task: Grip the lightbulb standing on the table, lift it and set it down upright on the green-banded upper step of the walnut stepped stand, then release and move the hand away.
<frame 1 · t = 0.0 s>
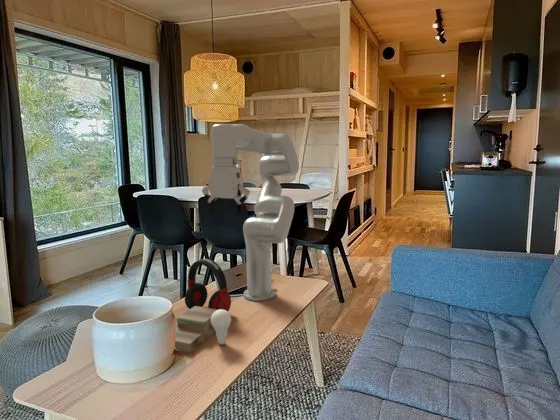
hand: (226, 215, 134), 37 cm above the table, tool pointing down, fingers open, 9 cm apart
lightbulb: (221, 344, 124), on the table
stand: (193, 336, 129), on the table
headphones: (208, 313, 146), on the table
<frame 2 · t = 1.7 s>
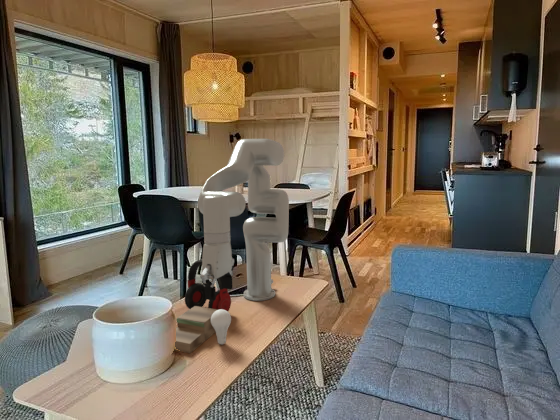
hand: (219, 293, 121), 16 cm above the table, tool pointing down, fingers open, 9 cm apart
nothing on the table moved.
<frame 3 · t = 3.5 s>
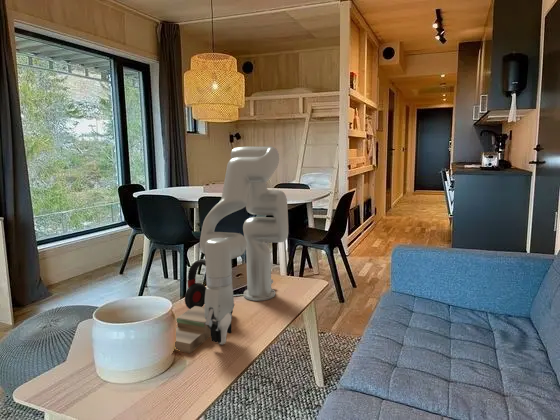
hand: (221, 336, 123), 3 cm above the table, tool pointing down, fingers closed on lightbulb, 5 cm apart
lightbulb: (221, 344, 124), on the table, touching gripper
everything else where it was.
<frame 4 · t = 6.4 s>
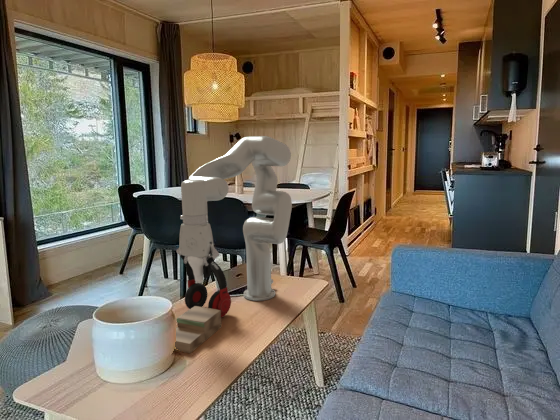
hand: (198, 275, 129), 19 cm above the table, tool pointing down, fingers closed on lightbulb, 5 cm apart
lightbulb: (199, 283, 129), point 16 cm above the table, touching gripper
everything else where it was.
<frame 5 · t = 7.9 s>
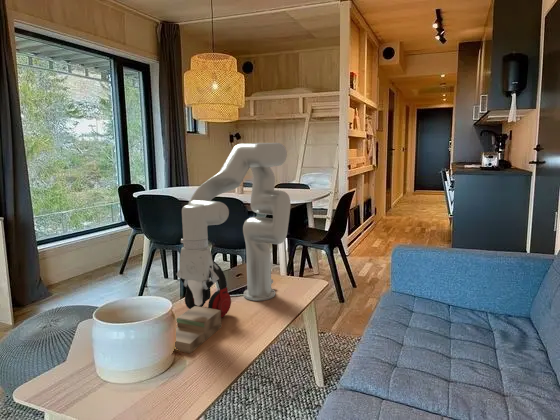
hand: (198, 298, 130), 11 cm above the table, tool pointing down, fingers closed on lightbulb, 5 cm apart
lightbulb: (198, 306, 131), point 9 cm above the table, touching gripper
everything else where it was.
when the fingers open (10 cm above the table, at t = 9.1 s): lightbulb drops 1 cm, resting on stand.
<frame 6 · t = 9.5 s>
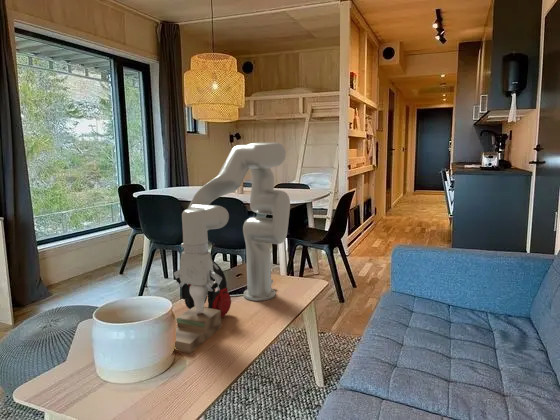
hand: (198, 299, 130), 11 cm above the table, tool pointing down, fingers open, 9 cm apart
lightbulb: (199, 313, 132), point 6 cm above the table, touching stand
everything else where it was.
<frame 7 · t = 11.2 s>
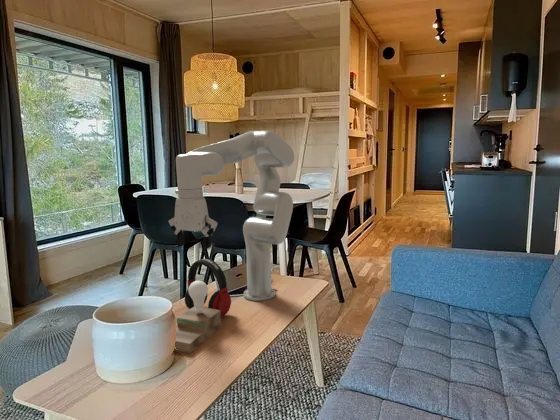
hand: (194, 246, 130), 28 cm above the table, tool pointing down, fingers open, 9 cm apart
nothing on the table moved.
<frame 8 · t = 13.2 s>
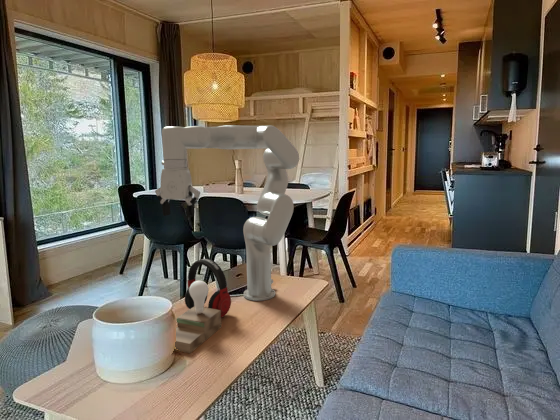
hand: (178, 215, 137), 36 cm above the table, tool pointing down, fingers open, 9 cm apart
nothing on the table moved.
at the end: lightbulb inside the target area on the stand (0.3 cm from its centre), point 5.8 cm above the stand's base; lightbulb tilted 1°; the gripper is holding nothing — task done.
